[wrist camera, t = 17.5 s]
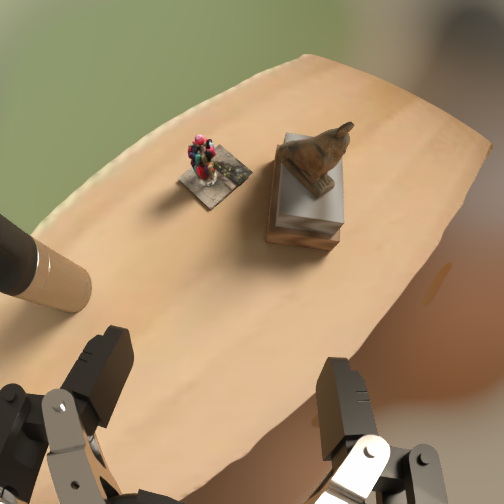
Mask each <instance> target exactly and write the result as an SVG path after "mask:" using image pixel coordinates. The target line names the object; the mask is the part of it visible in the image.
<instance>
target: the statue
mask: <svg viewBox="0 0 504 504" xmlns="http://www.w3.org/2000/svg"><path fill="white" fill-rule="evenodd" d="M188 148H189V149H188V157H189V158H190V159H191V166H192V167H191V168H190V169H189V170H188V171H186V172H185V173H184V174H183V175H182V176H181V177H179V178H178V179H179V180H180V181H181V182H182V183H183V184H184V185H186V186H187V187H188V188H189V189H190V190H191V191H192V192H193V193H194V194H195V196H196V197H197V198H199V199H200V200H201V201H202V202H203V203H204V204H206V205H207V206H208V208H210V209H213V208H214V207H213V206H216V205H217V203H218V202H219V203H220V202H221V201H222V200H223V199H224V198H226V197H227V196H228V195H229V194H230V193H231V192H232V191H233V190H234V189H235V187H236V186H239V185H241V184H242V183H243V182H244V180H245V179H246V178H247V177H248V176H249V175H250V174H252V173H253V172H252V171H251V170H250V169H248V168H247V167H246V166H245V165H244V164H242V163H241V162H240V161H239V160H237V159H236V158H235V157H234V156H233V155H232V154H231V153H229V152H228V151H227V150H226V149H224V148H223V147H222V146H221V145H220V144H219V145H218V146H217V147H216V148H215V149H214V145H213V144H212V140H211V139H208V140H207V139H206V138H204V137H203V136H202V135H199V134H198V135H196V136H195V140H193V145H191V144H190V145H189V147H188ZM219 203H218V204H219Z"/></svg>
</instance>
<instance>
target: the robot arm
mask: <svg viewBox="0 0 504 504" xmlns="http://www.w3.org/2000/svg"><path fill="white" fill-rule="evenodd" d="M91 289H92V287H91V280H90V277H89V275H88V273H87V272H86V270H85V269H83V268H82V267H80V266H79V265H77V264H75V263H73V262H72V261H70V260H69V259H67V258H65V257H63V256H62V255H60V254H59V253H57V252H55V251H54V250H52V249H50V248H49V247H47V246H46V245H44V244H42V243H41V242H39V241H37V240H36V239H34V238H33V237H31V236H30V235H28V234H27V233H25V232H24V231H22V230H21V229H20V228H18V227H17V226H16V225H14V224H13V223H12V222H10V221H9V220H8V219H6V218H5V217H3V216H2V215H1V214H0V292H2V293H4V294H7V295H10V296H13V297H16V298H19V299H23V300H26V301H29V302H33V303H36V304H39V305H43V306H46V307H50V308H54V309H57V310H61V311H65V312H69V313H74V312H78V311H80V310H81V309H82V308H83V307H85V305H86V304H87V302H88V300H89V298H90V295H91ZM133 362H134V353H133V348H132V344H131V339H130V334H129V331H128V329H126V328H121V327H117V326H113V325H110V326H109V327H108V328H107V330H106V331H105V333H104V335H103V336H102V335H96V336H95V337H94V338H92V339H91V340H90V341H88V343H87V345H86V346H85V348H84V349H83V352H82V353H81V354H80V356H79V358H78V360H77V361H76V362H75V364H74V366H73V367H72V369H71V371H70V373H69V374H68V376H67V378H66V379H65V381H64V383H63V385H62V386H61V387H60V389H54V390H51V391H49V392H48V393H47V394H46V395H36V394H27V393H26V392H25V391H24V389H23V388H22V387H21V386H20V385H18V384H8V385H6V386H4V387H3V388H2V389H1V390H0V504H29V502H30V499H31V495H32V492H33V489H34V486H35V482H36V479H37V476H38V473H39V470H40V467H41V464H42V462H43V459H44V456H45V453H46V451H47V448H48V445H49V446H50V453H48V454H47V462H48V466H49V469H50V473H51V476H52V480H53V483H54V486H55V489H56V492H57V495H58V498H59V501H60V504H184V503H181V502H179V501H177V500H174V499H172V498H170V497H168V496H163V495H159V494H155V493H152V492H148V491H144V490H141V489H139V491H138V494H136V493H132V494H122V493H121V491H120V488H119V486H118V485H117V483H116V481H115V479H114V478H113V476H112V474H111V473H110V471H109V468H108V466H107V463H106V461H105V458H104V456H103V453H102V451H101V448H100V445H99V442H98V439H97V437H96V434H95V431H96V428H97V426H101V427H104V428H107V425H108V423H109V420H110V418H111V415H112V413H113V411H114V408H115V406H116V403H117V401H118V399H119V396H120V394H121V392H122V389H123V387H124V385H125V382H126V380H127V378H128V375H129V373H130V371H131V369H132V366H133ZM316 399H317V407H318V417H319V426H320V436H321V447H322V458H323V461H331V460H332V468H331V469H330V470H329V472H328V473H327V474H326V476H325V477H324V478H323V480H322V481H321V482H320V484H319V485H318V486H317V487H316V489H315V490H314V491H313V492H312V493H311V495H310V496H309V497H308V498H307V499H306V501H305V502H304V503H303V504H365V499H366V497H367V496H368V494H369V492H370V491H376V501H377V502H376V503H377V504H448V500H447V495H446V489H445V484H444V479H443V474H442V469H441V465H440V460H439V456H438V453H437V451H436V450H435V449H434V448H433V447H432V446H430V445H427V444H419V445H417V446H415V447H414V448H413V449H412V450H409V449H402V448H396V447H392V446H389V445H388V443H387V442H386V441H385V440H384V439H383V438H381V437H379V435H378V432H377V428H376V424H375V419H374V415H373V411H372V407H371V404H370V402H369V400H370V399H369V395H368V393H367V388H366V384H365V380H364V379H363V378H362V376H361V375H360V374H359V372H358V371H351V370H350V366H349V362H348V359H347V358H337V357H328V358H327V360H326V362H325V364H324V367H323V369H322V371H321V373H320V376H319V378H318V380H317V384H316Z"/></svg>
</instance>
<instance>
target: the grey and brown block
mask: <svg viewBox="0 0 504 504" xmlns="http://www.w3.org/2000/svg"><path fill="white" fill-rule="evenodd" d="M308 138H312V137H311V136H305V135H299V134H293V133H286V135H285V139H284V143H286V142H289V141H292V140H295V141H296V140H303V139H308ZM280 146H281V145H277V149H276V153H277V151H278V149H279V147H280ZM327 174H328V175H329V176H330V177H331V178H332V179H333V180H334V182H335V185H334V188H333V189H331V190H329V191H328V192H327V193H325V194H324V195H323V196H321V197H320V198H318V199H317V198H316V197H315V196H314V195H313V194H312V193H311V192H310V191H309V190H308V189H307V188H305V187H304V186H303V185H302V184H301V183H300V182H299V180H297V179H296V177H294V176H293V175H292V174H291V173H290V172H289V170H288V169H287V167H285V166H284V165H283V164H282V163H281V162H280V161H279V159H278V158H277V157H276V154H275V159H274V169H273V178H272V188H271V198H270V207H269V216H268V226H267V235H266V242H269V243H277V244H284V245H292V246H299V247H307V248H314V249H322V250H329V251H331V250H332V249H333V248H334V247H335V246H336V245H337V244H338V243H339V242H340V228H341V226H342V225H343V224H344V190H343V166H342V158H341V159H340V161H339V162H338V164H337V165H336V166H335V167H334V168H333V169H331V170H330V171H328V173H327Z"/></svg>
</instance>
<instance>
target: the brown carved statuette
mask: <svg viewBox="0 0 504 504" xmlns="http://www.w3.org/2000/svg"><path fill="white" fill-rule="evenodd" d="M353 127H354V124H353V123H352V122H348V123H345V124H343V125H342V126H340V127H339V128H336V129H331V130H328V131H325V132H323V133H321V134H319V135H318V136H316V137H312V138H308V139H303V140H296V141H295V140H292V141H289V142H286V143H284V144H282V145H281V146H280V147H279V149H278V151H277V153H276V157H277V158H278V159H279V161H280V162H281V163H282V164H283V165H284V166H285V167H287V169H288V170H289V172H290V173H291V174H292V175H293V176H294V177H296V179H297V180H299V182H300V183H301V184H302V185H303V186H304V187H305V188H307V189H308V190H309V191H310V192H311V193H312V194H313V195H314V196H315V197H316V198H317V199H318V198H320V197H321V196H323V195H324V194H325V193H327V192H328V191H329V190H331V189H333V188H334V185H335V182H334V180H333V179H332V178H331V177H330V176H329V175H328V174H327V173H328V171H330V170H331V169H333V168H334V167H335V166H336V165H337V164H338V162H339V161H340V159H341V158H342V156H343V155H344V154H345V152H346V148H347V146H348V145H349V143H350V136H349V134H348V132H349V131H350V130H351V129H352V128H353Z"/></svg>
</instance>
